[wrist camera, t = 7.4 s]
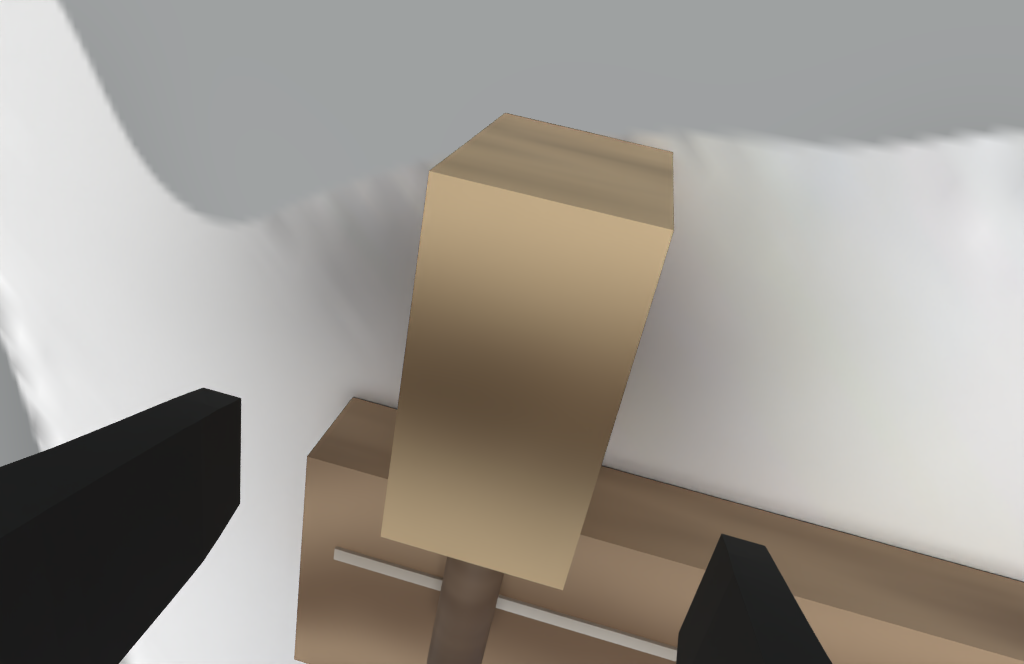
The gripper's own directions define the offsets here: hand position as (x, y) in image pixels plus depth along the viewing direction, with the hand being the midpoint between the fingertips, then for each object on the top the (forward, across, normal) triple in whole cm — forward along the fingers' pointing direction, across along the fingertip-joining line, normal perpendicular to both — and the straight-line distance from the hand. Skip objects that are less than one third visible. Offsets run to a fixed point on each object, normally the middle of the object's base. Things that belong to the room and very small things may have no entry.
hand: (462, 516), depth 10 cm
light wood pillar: (+9, 0, +2) cm, 9 cm away
